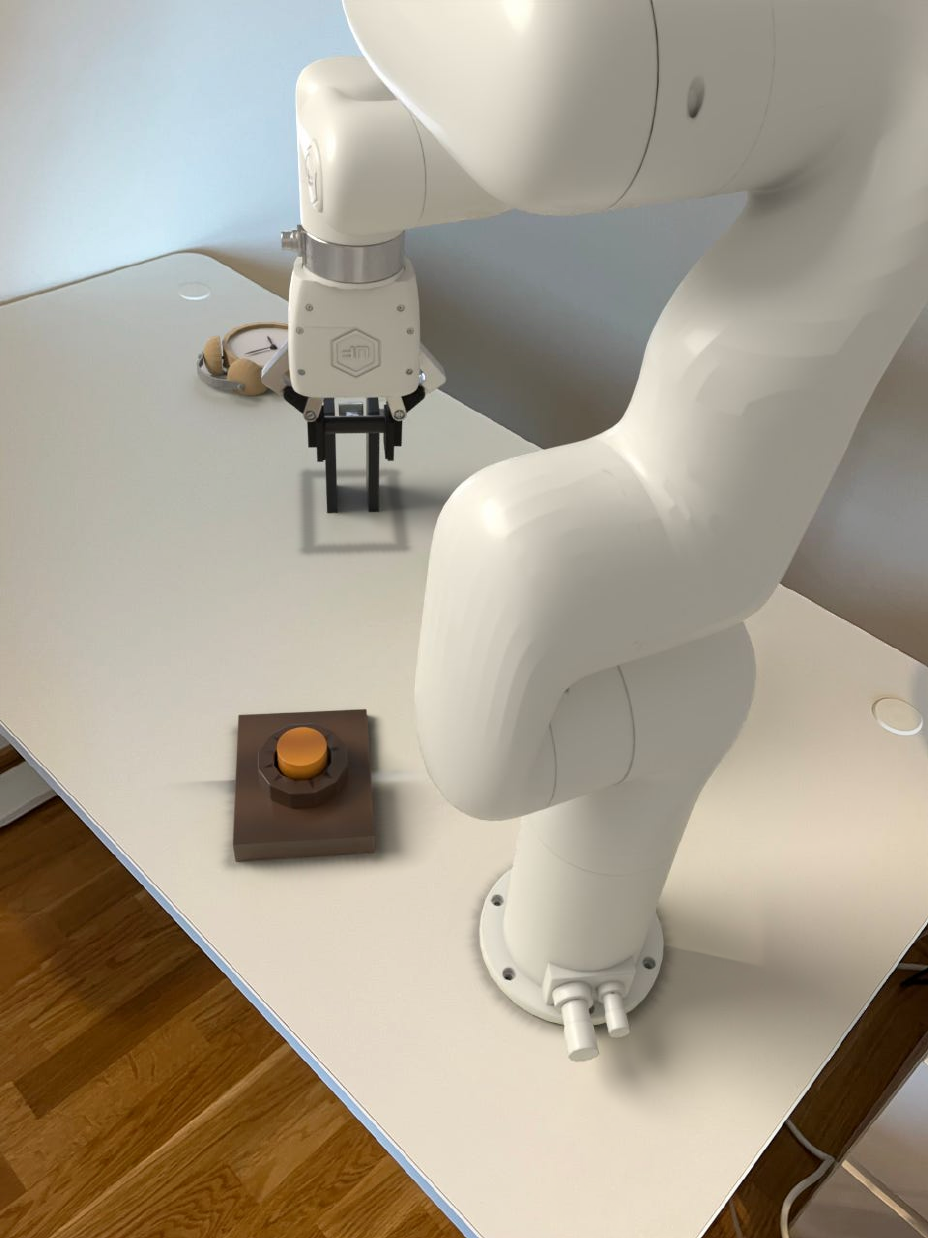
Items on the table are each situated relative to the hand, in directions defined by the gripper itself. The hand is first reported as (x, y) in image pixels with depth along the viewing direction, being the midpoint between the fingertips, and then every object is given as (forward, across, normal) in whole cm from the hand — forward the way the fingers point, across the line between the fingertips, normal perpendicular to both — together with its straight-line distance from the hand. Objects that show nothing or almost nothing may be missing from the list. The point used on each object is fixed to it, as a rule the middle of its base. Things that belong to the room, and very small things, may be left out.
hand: (354, 449), depth 91 cm
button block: (+13, -5, -25) cm, 29 cm away
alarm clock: (+14, -9, +33) cm, 37 cm away
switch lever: (+1, 0, +4) cm, 4 cm away
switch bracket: (+13, 0, +9) cm, 16 cm away
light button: (+10, -5, -25) cm, 28 cm away
